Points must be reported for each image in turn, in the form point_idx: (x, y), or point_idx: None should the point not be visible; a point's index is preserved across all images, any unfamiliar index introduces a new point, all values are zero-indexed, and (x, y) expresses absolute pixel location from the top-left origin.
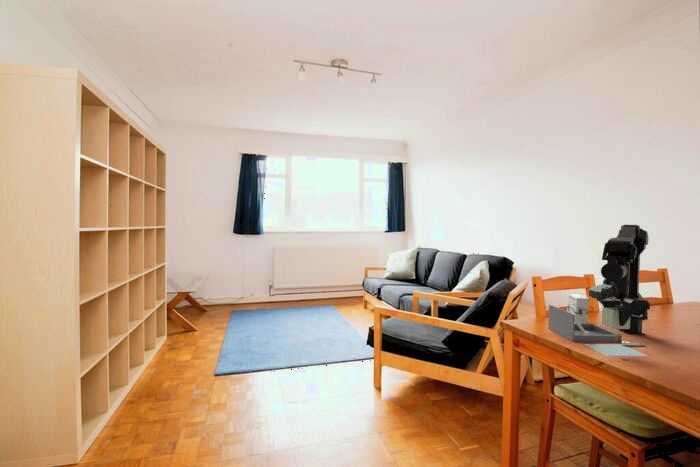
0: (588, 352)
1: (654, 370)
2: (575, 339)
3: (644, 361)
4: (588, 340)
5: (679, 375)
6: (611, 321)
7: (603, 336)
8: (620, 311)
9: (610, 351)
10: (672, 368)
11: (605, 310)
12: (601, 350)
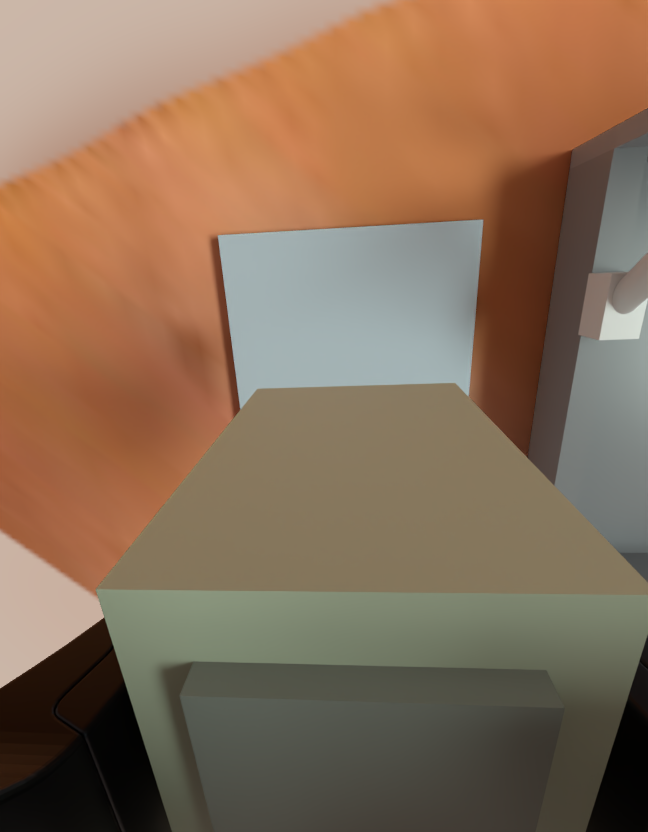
0: (309, 143)
1: (46, 409)
2: (582, 185)
3: (184, 459)
4: (555, 326)
5: (13, 489)
6: (247, 427)
7: (551, 467)
8: (19, 732)
9: (316, 346)
10: (108, 529)
11: (455, 537)
12: (331, 283)
